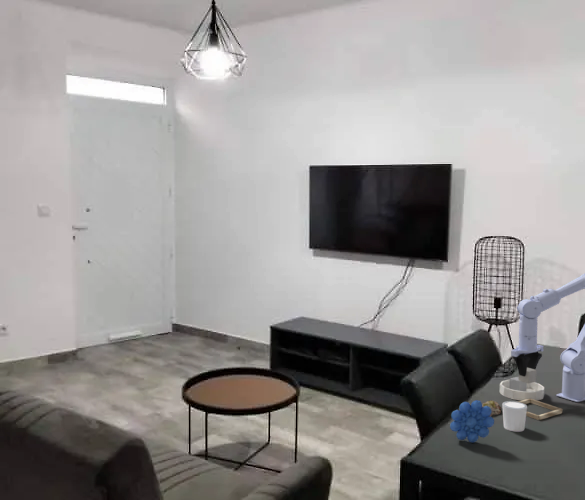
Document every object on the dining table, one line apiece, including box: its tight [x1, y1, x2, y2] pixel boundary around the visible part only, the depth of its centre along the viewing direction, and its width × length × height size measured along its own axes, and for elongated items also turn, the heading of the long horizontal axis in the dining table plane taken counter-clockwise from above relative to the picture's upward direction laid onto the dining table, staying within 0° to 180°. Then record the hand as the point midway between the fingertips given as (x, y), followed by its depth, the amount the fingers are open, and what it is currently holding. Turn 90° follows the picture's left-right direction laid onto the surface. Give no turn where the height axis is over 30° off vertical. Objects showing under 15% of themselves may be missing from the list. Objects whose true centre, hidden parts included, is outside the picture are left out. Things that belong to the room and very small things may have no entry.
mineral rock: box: [481, 399, 502, 417], centre depth 187 cm, size 11×4×8 cm
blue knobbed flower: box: [449, 399, 495, 444], centre depth 163 cm, size 12×7×12 cm, turn 70°
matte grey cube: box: [509, 376, 527, 391], centre depth 206 cm, size 4×4×4 cm
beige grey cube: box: [518, 368, 538, 383], centre depth 200 cm, size 4×4×4 cm
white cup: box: [501, 400, 528, 433], centre depth 173 cm, size 7×7×7 cm
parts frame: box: [517, 399, 563, 421], centre depth 187 cm, size 12×12×1 cm
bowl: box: [499, 379, 545, 401], centre depth 203 cm, size 14×14×3 cm
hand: (526, 374), depth 200 cm, fingers closed on beige grey cube, 4 cm apart
